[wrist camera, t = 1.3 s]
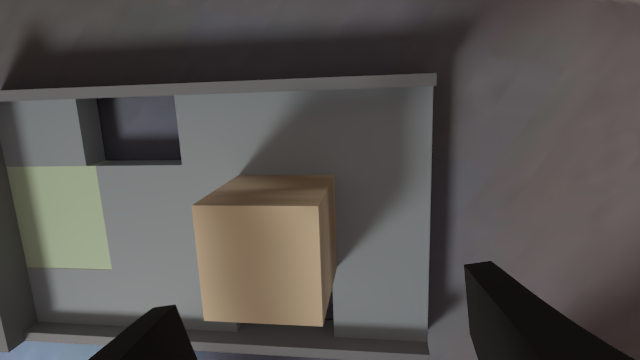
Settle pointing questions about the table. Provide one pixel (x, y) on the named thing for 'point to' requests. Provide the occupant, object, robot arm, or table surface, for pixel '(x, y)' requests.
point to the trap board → (197, 182)
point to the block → (267, 249)
